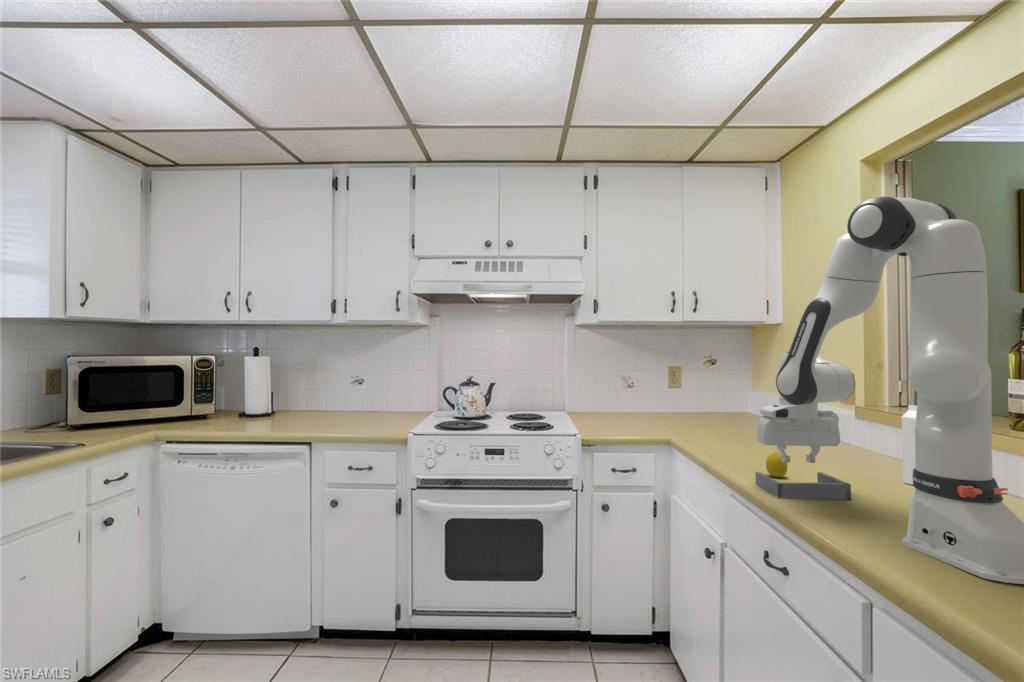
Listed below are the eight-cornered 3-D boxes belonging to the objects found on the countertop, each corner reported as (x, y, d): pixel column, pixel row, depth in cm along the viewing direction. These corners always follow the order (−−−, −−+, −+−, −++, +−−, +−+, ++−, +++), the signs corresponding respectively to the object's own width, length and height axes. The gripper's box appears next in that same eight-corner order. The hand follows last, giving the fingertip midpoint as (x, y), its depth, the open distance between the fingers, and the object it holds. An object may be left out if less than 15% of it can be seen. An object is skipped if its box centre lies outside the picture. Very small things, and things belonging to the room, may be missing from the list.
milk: (926, 488, 129) (924, 407, 129) (902, 482, 135) (900, 405, 135) (941, 486, 131) (939, 406, 131) (917, 480, 137) (915, 404, 137)
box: (851, 500, 119) (850, 484, 119) (777, 499, 120) (777, 483, 120) (822, 486, 131) (821, 472, 131) (755, 486, 132) (755, 471, 132)
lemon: (790, 482, 136) (790, 454, 136) (769, 481, 137) (768, 453, 137) (784, 477, 141) (783, 450, 141) (763, 476, 142) (763, 449, 143)
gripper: (830, 409, 129) (830, 459, 129) (754, 408, 130) (754, 458, 130) (845, 412, 123) (846, 465, 123) (765, 411, 124) (765, 464, 124)
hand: (798, 462), depth 127 cm, fingers open, 5 cm apart
